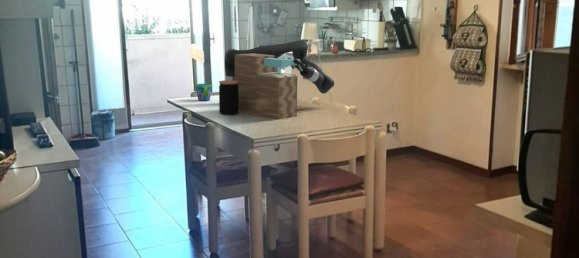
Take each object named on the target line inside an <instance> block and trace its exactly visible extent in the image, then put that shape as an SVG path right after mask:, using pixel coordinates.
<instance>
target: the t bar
mask: <svg viewBox="0 0 579 258" xmlns="http://www.w3.org/2000/svg"><path fill="white" fill-rule="evenodd" d="M297 60H298V61H300V59H297ZM293 61H294V58H291V59H288V58H287V59H285V58H264V66H270V67H275V68H280V69H282V68H289V67H291V66H292V65H297V64H295V63H294V62H293Z"/></svg>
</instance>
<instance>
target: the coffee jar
mask: <svg viewBox="0 0 579 258" xmlns="http://www.w3.org/2000/svg"><path fill="white" fill-rule="evenodd" d="M218 82H219V85H218V94H219V95H218V97H219V99H218V101H219V107H218V108H219V109H218V110H219V114H220V115H222V116H235V115H238V114H239V112H240V111H239V96H238V81H234V80H226V79H225V80H219V81H218Z"/></svg>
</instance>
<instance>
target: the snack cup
mask: <svg viewBox="0 0 579 258" xmlns="http://www.w3.org/2000/svg"><path fill="white" fill-rule="evenodd" d="M194 87H195V90H196V96H197V100H198V101H199V102H208V101H210V100H211V94H212V88H213V84H211V83H196V84H195V85H194Z"/></svg>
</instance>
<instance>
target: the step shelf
mask: <svg viewBox="0 0 579 258" xmlns="http://www.w3.org/2000/svg"><path fill="white" fill-rule="evenodd" d="M264 58H275V55H266V54H255V53H251V54H235V81H238V96H239V112H240V113H243V114H244V113H245V114H250V115H254V116H260V117H263V118H264V117H265V118H269V119H273V120H284V119H291V118H295V117H298V75H297V74H295V73H285V72H278V71H277V72H276V69H275V68H276V67H270V66H264Z"/></svg>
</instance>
